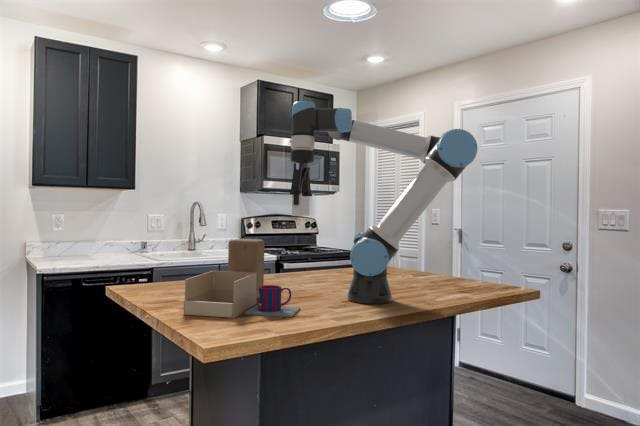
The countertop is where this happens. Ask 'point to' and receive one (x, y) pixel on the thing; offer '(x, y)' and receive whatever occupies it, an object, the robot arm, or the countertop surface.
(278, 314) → the mat
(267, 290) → the mug
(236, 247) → the wooden block
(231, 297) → the carton
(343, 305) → the countertop surface
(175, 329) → the countertop surface
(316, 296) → the countertop surface
